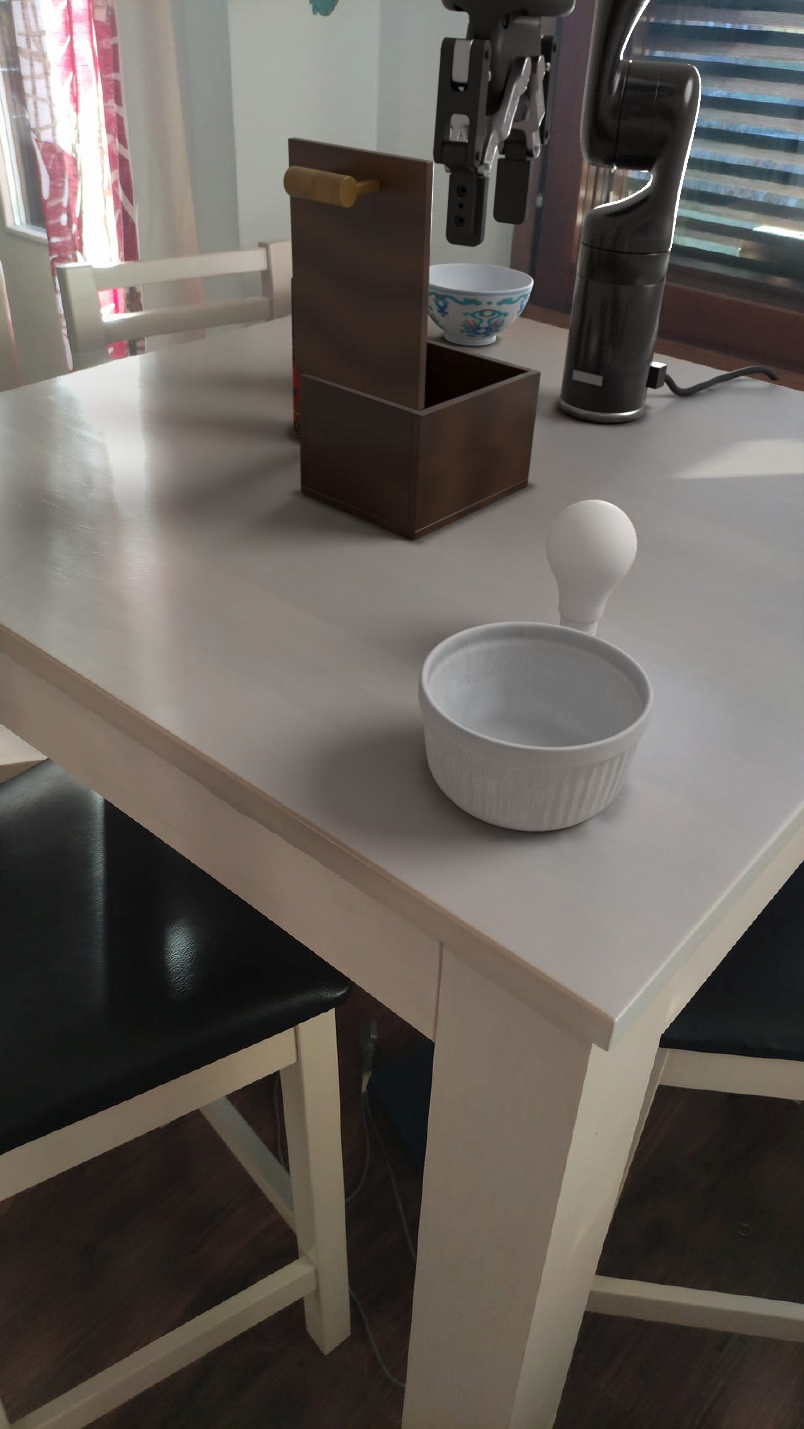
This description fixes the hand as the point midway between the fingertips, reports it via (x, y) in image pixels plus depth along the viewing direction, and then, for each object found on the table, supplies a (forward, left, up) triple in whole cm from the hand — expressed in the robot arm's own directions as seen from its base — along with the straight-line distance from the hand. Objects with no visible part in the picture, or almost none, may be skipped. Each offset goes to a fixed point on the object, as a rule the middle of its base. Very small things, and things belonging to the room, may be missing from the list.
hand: (488, 233), depth 66 cm
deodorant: (-18, -32, -26) cm, 45 cm away
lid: (-5, -16, -6) cm, 18 cm away
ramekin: (+14, +16, -26) cm, 34 cm away
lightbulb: (-1, +10, -26) cm, 28 cm away
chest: (-14, -16, -26) cm, 33 cm away
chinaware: (-57, -43, -26) cm, 75 cm away
